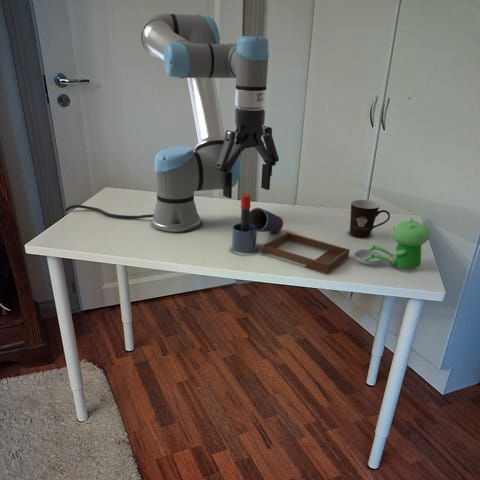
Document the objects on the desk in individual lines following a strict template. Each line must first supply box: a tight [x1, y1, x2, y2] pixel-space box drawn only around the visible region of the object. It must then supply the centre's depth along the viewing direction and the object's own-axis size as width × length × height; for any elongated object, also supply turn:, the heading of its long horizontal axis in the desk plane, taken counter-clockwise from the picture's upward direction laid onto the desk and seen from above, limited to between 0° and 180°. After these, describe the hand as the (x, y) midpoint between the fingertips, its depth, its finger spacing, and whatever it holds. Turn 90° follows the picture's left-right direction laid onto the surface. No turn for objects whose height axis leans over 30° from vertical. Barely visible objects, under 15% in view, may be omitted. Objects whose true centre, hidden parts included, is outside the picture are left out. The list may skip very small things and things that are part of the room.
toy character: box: [360, 217, 431, 269], centre depth 131 cm, size 10×18×13 cm, turn 73°
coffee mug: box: [349, 199, 391, 239], centre depth 149 cm, size 12×9×10 cm
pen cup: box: [231, 222, 258, 254], centre depth 137 cm, size 7×7×7 cm
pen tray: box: [262, 231, 351, 275], centre depth 136 cm, size 21×14×3 cm, turn 55°
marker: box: [240, 193, 252, 231], centre depth 134 cm, size 3×3×16 cm
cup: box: [249, 207, 284, 233], centre depth 144 cm, size 7×7×15 cm
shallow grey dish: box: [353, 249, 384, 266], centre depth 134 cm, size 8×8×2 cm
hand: (246, 192), depth 129 cm, fingers open, 13 cm apart
